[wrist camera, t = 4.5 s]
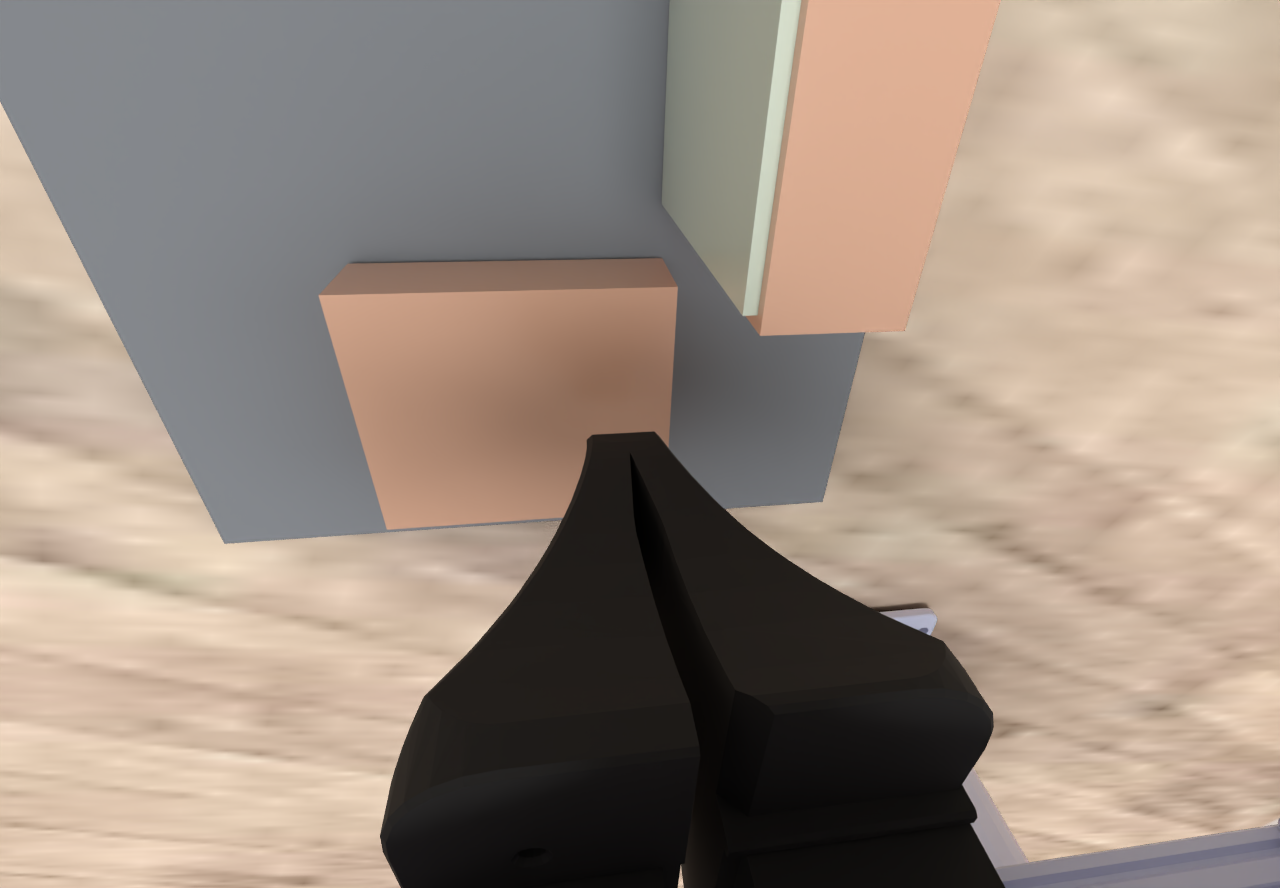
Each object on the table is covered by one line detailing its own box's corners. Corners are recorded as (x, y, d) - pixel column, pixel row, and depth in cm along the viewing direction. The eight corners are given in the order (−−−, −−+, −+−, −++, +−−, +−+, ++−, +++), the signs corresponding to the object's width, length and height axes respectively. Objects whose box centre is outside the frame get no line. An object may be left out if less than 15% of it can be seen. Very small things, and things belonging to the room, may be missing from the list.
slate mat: (817, 494, 19) (822, 501, 19) (230, 533, 17) (224, 543, 17) (1010, -297, 10) (1025, -309, 10) (-244, -427, 8) (-278, -448, 7)
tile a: (677, 287, 12) (318, 295, 11) (664, 510, 15) (386, 529, 15) (660, 255, 14) (349, 260, 13) (652, 461, 17) (404, 476, 16)
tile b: (797, -151, 10) (1116, -402, 5) (753, 210, 14) (905, 330, 8) (674, -160, 10) (844, -437, 4) (659, 211, 13) (745, 336, 8)
